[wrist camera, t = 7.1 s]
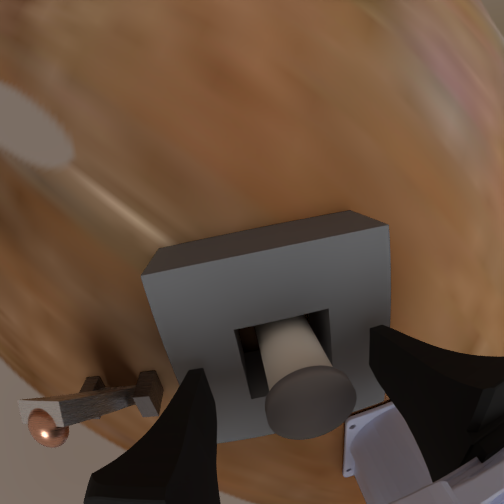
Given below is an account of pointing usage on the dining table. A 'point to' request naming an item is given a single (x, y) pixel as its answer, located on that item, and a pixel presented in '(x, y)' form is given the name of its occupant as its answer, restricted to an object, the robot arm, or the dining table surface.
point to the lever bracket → (136, 392)
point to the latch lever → (70, 411)
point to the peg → (301, 381)
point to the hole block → (271, 305)
